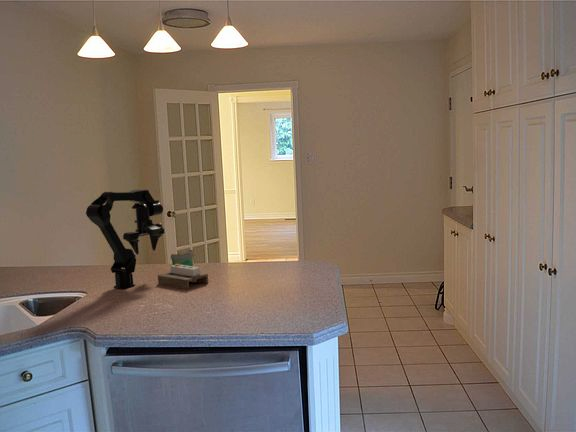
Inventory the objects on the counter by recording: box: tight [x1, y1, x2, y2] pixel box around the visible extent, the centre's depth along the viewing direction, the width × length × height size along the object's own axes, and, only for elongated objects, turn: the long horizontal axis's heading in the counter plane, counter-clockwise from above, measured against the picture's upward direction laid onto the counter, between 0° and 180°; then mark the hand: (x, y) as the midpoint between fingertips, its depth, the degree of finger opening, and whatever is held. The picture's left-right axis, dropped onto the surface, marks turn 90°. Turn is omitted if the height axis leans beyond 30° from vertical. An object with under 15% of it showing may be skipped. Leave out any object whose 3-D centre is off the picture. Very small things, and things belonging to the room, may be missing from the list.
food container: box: [170, 249, 195, 267], centre depth 240 cm, size 12×6×10 cm, turn 143°
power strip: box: [170, 264, 201, 283], centre depth 224 cm, size 4×14×7 cm, turn 54°
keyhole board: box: [157, 270, 209, 290], centre depth 223 cm, size 12×18×4 cm, turn 54°
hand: (145, 252), depth 232 cm, fingers open, 9 cm apart
